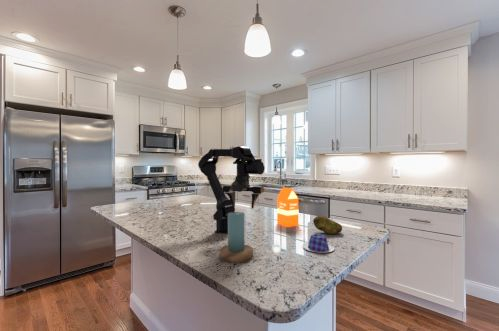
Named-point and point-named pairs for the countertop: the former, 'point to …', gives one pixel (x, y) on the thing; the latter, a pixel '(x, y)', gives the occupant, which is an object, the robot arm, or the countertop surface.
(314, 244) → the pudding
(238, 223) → the teal tapered cylinder
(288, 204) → the orange juice
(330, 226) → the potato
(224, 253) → the base plate
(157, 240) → the countertop surface
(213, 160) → the robot arm
